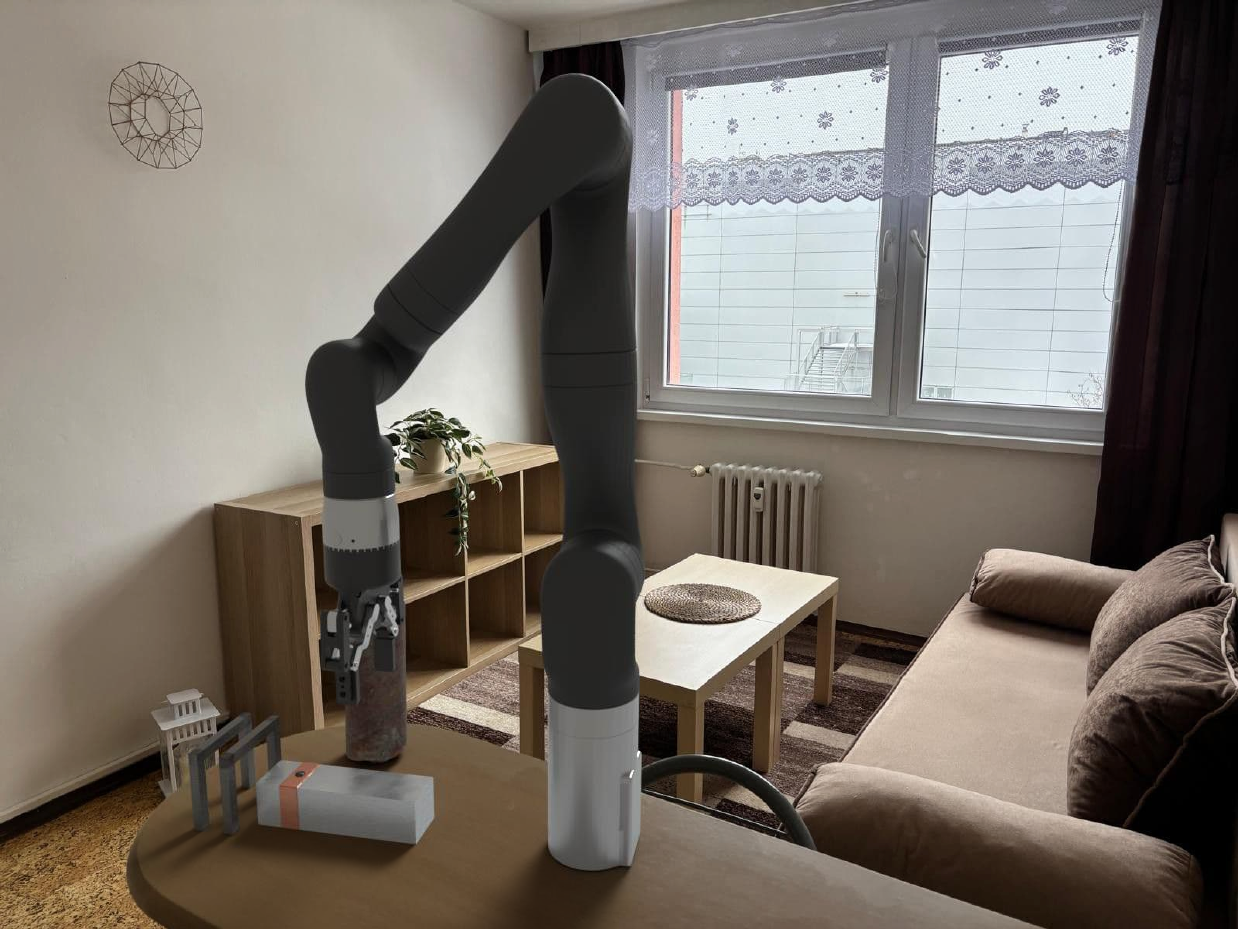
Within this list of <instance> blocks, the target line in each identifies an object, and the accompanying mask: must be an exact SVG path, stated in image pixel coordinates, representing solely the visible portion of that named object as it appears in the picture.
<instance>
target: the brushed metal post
mask: <svg viewBox="0 0 1238 929" xmlns="http://www.w3.org/2000/svg"><path fill="white" fill-rule="evenodd" d="M434 792H435V791H434V777H433V776H427V775H418V774H410V773H401V772H391V771H383V770H382V771H381V770H372V769H365V768H356V767H355V768H354V767H347V766H346V767H345V766H339V765H329V764H321V763H320V762H319V763H318V762H317V763H316V762H308V761H303V762H301V761H291V760H283V759H282V760H280V761H279V762H278V763H277V764H276V765H275V766H274V767H273V768H272V769H271V770H269V771H268V770H267V772H266V773H265V774H264V775H263V776H261V778H259V780H257V781H256V783H255V796H256V812H257V824H258V825H261V826H267V827H277V828H283V829H291V830H297V831H299V830H300V831H301V830H302V831H306V832H307V831H308V832H316V833H324V834H332V835H337V836H338V835H340V836H348V837H354V838H355V837H356V838H364V839H371V840H378V841H379V840H380V841H386V842H387V841H388V842H394V843H403V844H409V845H417V844H418V842H419V841H420V840H421V838H422V837H423V835H424V834H425V832H426V830H427V829H428V828H429V827H430V825H431V824H432V822H433V820H434V819H435V799H434V798H435V797H434V796H435V795H434Z"/></svg>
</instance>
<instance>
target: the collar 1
mask: <svg viewBox="0 0 1238 929" xmlns="http://www.w3.org/2000/svg"><path fill="white" fill-rule="evenodd" d="M252 730H253V722H252V713H251V712H241V714H239V715H237V717H235V718H234V719H233V720H231V721H230V722H229V723H227V724H226V725H225V726H223V727H222V728H221V729H219V730H218V731H217V732H216V733H214V734H213V735H212V736H210V737H209V738H207V739H206V740H205V741H203V742H202V743H201V744H200V745H198V746H197V747H196V748H195V749H193V750H192V751H190V752H189V753H188V754H187V756H188V757H187V758H188V768H189V783H190V794H191V795H190V796H191V804H192V806H191V807H192V820H193V830H195V831H202V832H203V831H205V830H206V829H207V828H208V827H210V812H209V800H208V785H207V774H206V763H205V762H206V760H207V759H208V758H209V757H211V756H212V755H213V754H215V753H216V752H217V751H218V750H220V749H221V748H222V747H223V746H224V745H226V744H227V743H228V742H230V741H231V740H233V738H235V737H236V736H237V735H238V742H239V741H240V740H241V739H242V738H243V737H245V736H246V735H247V734H248V733H250V732H251V731H252ZM239 763H240V764H239V765H240V779H241V788H244V789H250V788H252V787H253V786H254V785H256V782H257V781H256V767H255V752H254V748H253V749H252V750H250V751H249V752H248V753H247V754H246V755H244V756H243V757H242V758H241V759H240V760H239Z"/></svg>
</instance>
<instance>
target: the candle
mask: <svg viewBox="0 0 1238 929" xmlns="http://www.w3.org/2000/svg"><path fill="white" fill-rule="evenodd" d="M392 607H393V609H394V611H395V613H396V607H395V606H393V605H392ZM404 610H405V611H406V602H405V601H404ZM406 631H407V630H406V621H405V622H404V624H403V625H398V634H397V636H396V637H395V636H394V638H395V654H396V667H395V669H394V670H393V671H391V672H385V671H377V670H376V669H375V667H374V645H373V638H374V637H376V636H377V635H374V634H373V632H372V634H371V636H370V641H369V645H368V647H367V648H366V649H364V650H363V651H362V654H361V658H360V662H359V666H358V668H359V683H360V701H359V702H358V703H357V704H356V705H354V706H352V705H344V706H345V707H344V708H345V712H344V713H345V716H344V717H345V721H344V722H345V754H346V757H347V758H348V759H350V760H351V761H356V762H362V761H365V762H370V763H372V764H373V763H380V764H381V763H385V762H387V761H389V760H390V759H393V758H395V757H397V756H398V755H399V754H400V753H401V752H403V750H404V749H406V747H407V745H408V717H407V715H408V712H407V711H408V710H407V709H408V707H407V706H408V705H407V704H408V703H407V671H406V670H407V664H406V663H407V661H406V659H407V658H406V657H407V656H406V652H407V651H406V645H407V642H406V641H407V640H406V636H407V634H406ZM358 637H359V636H351V635H350V638H358ZM352 650H353V648H350V658H351V654H352Z"/></svg>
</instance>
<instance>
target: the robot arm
mask: <svg viewBox="0 0 1238 929" xmlns="http://www.w3.org/2000/svg"><path fill="white" fill-rule="evenodd" d="M633 150H634V134H633V126H632V123H631V121H630V118H629V115H628V113H627V112H626V109H625V108H624V106H623V105H622V104H621V102H620V100H619V99H618V97H617V96H615V94H614V92H613V91H611V89H610V88H609V87H608V86H607V85H605V84H604V83H603V82H602V81H601V80H598V79H597V78H595V77H594V76H591V75H588V74H584V73H573V72H572V73H565V74H561V75H558V76H556V77H554V78H551V79H549V80H548V81H547V82H544V84H543V85H541V86H540V87H539V88H538V90H536V91H535V93H534V95H532V97H531V99H530V100H529V102H528V103H527V104H526V106H525V107H524V109H523V110H522V111H521V113H520V115H519V116H518V117H517V119H516V121H515V122H514V124H513V126H512V127H511V129H510V131H509V132H508V134H507V135H506V137H505V138H504V139H503V141H502V143H501V145H500V146H499V148H498V149H497V151H496V152H495V154H494V155H493V156H492V158H491V159H490V160H489V163H488V164H487V165H486V167H485V168H484V169H483V171H482V172H481V174H480V175H479V177H478V178H477V179H476V180H475V182H474V183H473V184H472V186H471V187H470V188H469V190H468V191H467V192H466V194H465V195H464V196H463V198H462V199H461V200H460V201H459V202H458V204H457V205H456V206H455V207H454V209H453V210H452V211H451V212H450V213H449V215H448V216H447V217H446V219H445V220H443V222H442V223H441V224H440V225H439V226H438V227H437V229H436V230H435V231H434V232H433V233H432V234H431V235H430V236H429V238H427V240H426V241H425V242H424V243H423V244H422V245H421V247H420V248H419V249H418V250H417V251H415V253H414V254H413V255H411V257H410V258H409V259H408V260H407V261H406V262H405V263H404V264H403V266H402V267H401V268H400V269H399V270H398V271H397V272H396V273H395V274H394V275H393V277H392V278H391V279H390V280H389V281H388V282H387V283H386V284H385V285H384V287H383V288H382V289H381V291H380V292H379V293H378V294H377V296H376V297H375V299H374V302H373V312H374V314H372V316H371V317H370V318H369V319H368V321H367V322H366V324H365V325H364V326H363V327H362V329H360V330H359V332H357V334H356V335H354V336H353V337H352V338H342V339H341V338H340V339H335V340H334V339H333V340H330V341H327V342H324V343H323V344H321V345H319V347H317V348H316V350H315V351H314V352H313V353H312V354H311V356H310V358H309V360H308V363H307V366H306V369H305V370H306V371H305V379H304V387H305V388H304V389H305V390H304V391H305V397H306V404H307V407H308V411H309V416H310V419H311V422H312V425H313V429H314V433H315V437H316V440H317V443H318V445H319V448H320V451H321V474H322V493H323V501H322V511H321V512H322V513H321V525H322V527H321V528H322V530H321V531H322V547H323V569H324V580H325V583H326V584H327V585H328V586H329V587H331V588H333V589H334V590H335V591H336V592H337V594H338V598H337V605H336V609H334V610H329V609H328V610H327V609H323V610H322V611H321V612H320V615H319V623H320V624H319V629H320V667H321V670H322V671H329V672H334V675H335V676H334V677H335V693H336V694H335V696H336V702H337V703H338V705H343V706H345V705H352V706H354V705H356V704H357V703H358V702H359V701H360V683H359V668H358V666H359V662H360V658H361V654H362V651H363V650H364V649H366V648H367V647H368V645H369V641H370V636H371V634H372V632H373V634H374V635H377V636H376V637H374V638H373V645H374V667H375V669H376V670H377V671H385V672H391V671H393V670H394V669H395V667H396V654H395V638H394V636H395V637H396V636H397V634H398V625H403V624H404V622H405V623H406V609H405V610H404V602H405V597H404V596H405V595H404V594H405V593H404V580H403V578H404V576H403V574H402V569H401V568H402V566H401V563H402V562H401V540H400V538H401V535H400V514H399V506H398V501H397V494H396V493H397V492H396V489H397V488H396V469H395V468H396V467H395V466H396V465H395V463H396V462H395V461H396V460H395V452H394V447H393V444H392V442H391V440H390V439H389V438H388V437H387V436H385V435H383V434H381V430H380V426H379V419H378V413H377V406H380V405H381V404H383V403H385V402H387V401H388V400H390V399H391V398H392V397H393V396H395V394H396V393H397V392H398V391H399V390H400V389H401V388H402V387H403V386H404V385H405V384H406V383H407V381H408V380H409V379H410V377H411V376H412V375H413V373H414V372H415V371H416V369H417V367H418V366H419V365H420V364H421V362H422V360H423V359H424V358H425V356H426V354H427V353H428V351H429V350H430V348H431V347H432V345H434V344H435V343H436V342H437V341H438V340H439V339H440V338H441V337H442V336H443V335H444V334H445V333H447V331H448V330H449V329H450V328H451V327H452V326H453V325H454V324H455V322H457V321H458V320H459V319H460V318H461V316H463V314H464V313H465V312H466V311H467V310H468V309H469V308H470V307H471V306H472V305H473V304H474V302H475V301H476V300H477V299H478V297H480V295H481V294H482V292H484V290H485V288H486V287H487V285H488V284H489V283H490V282H491V280H492V279H493V277H494V276H495V275H496V273H497V272H498V269H499V267H500V266H501V265H502V263H503V261H504V260H505V258H506V257H507V256H508V254H509V252H510V251H511V250H512V248H513V246H514V245H515V244H516V243H517V242H518V240H519V239H520V238H521V237H522V236H523V234H524V233H525V232H526V231H527V229H528V228H529V227H531V225H532V224H533V223H534V222H536V220H537V219H539V217H540V216H541V215H542V214H543V213H544V212H545V211H547V210H548V208H549V212H550V221H551V222H550V223H551V234H552V235H551V236H552V238H551V240H552V241H551V244H552V246H551V247H552V248H551V249H552V250H551V258H550V266H549V272H548V276H547V283H546V287H545V293H544V300H543V306H542V314H541V323H540V331H539V332H540V333H539V334H540V335H539V336H540V337H539V340H540V341H539V352H540V371H541V374H540V375H541V391H542V392H541V393H542V399H543V400H542V401H543V407H544V413H545V419H546V422H547V426H548V429H549V433H550V436H551V440H552V443H553V446H554V449H555V453H556V456H557V459H558V463H559V466H560V470H561V471H560V472H561V476H562V486H563V526H562V540H561V546H560V550H559V551H558V552H557V553H556V554H555V555H554V556H553V557H552V559H551V560H550V561H549V563H548V565H547V566H546V567H545V570H544V573H543V577H542V581H541V586H540V587H541V589H540V625H541V626H540V629H541V632H540V633H541V655H542V656H541V657H542V665H543V670H544V672H545V674H546V677H547V846H548V850H549V853H550V855H551V856H552V857H553V858H554V859H555V860H556V861H558V862H559V863H560V864H562V865H564V866H567V867H568V868H571V869H576V870H581V871H602V870H609V869H611V868H615V867H618V866H619V867H620V866H623V867H630V866H632V864H633V859H634V857H635V856H634V855H635V853H636V849H637V845H638V842H639V838H640V834H641V812H642V811H641V809H642V808H641V807H642V805H641V803H642V799H641V798H642V756H643V755H642V752H641V751H640V750H639V711H640V710H639V709H640V708H639V707H640V706H639V705H640V666H639V663H638V662H637V659H636V612H637V611H636V610H637V609H636V608H637V602H638V600H639V597H640V595H641V593H642V590H643V588H644V583H645V576H646V575H645V574H646V567H645V566H646V565H645V557H644V552H643V544H642V539H641V538H642V536H641V531H640V530H641V529H640V524H639V515H638V507H637V500H636V499H637V497H636V488H635V486H636V485H635V467H636V466H635V465H636V464H635V463H636V453H637V452H636V451H637V432H638V427H637V426H638V394H639V393H638V392H639V391H638V390H639V388H638V383H639V382H638V351H637V347H638V345H637V336H636V335H637V334H636V333H637V332H636V319H635V318H636V317H635V308H634V295H633V284H632V277H631V268H630V261H629V252H628V250H629V248H628V220H629V219H628V218H629V217H628V216H629V201H630V200H629V198H630V186H631V185H630V183H631V175H632V173H631V172H632V163H633V162H632V161H633V153H634V152H633ZM392 605H393V606H395V607H396V613H395V611H394V609H393V607H392ZM350 635H351V636H359V637H358V638H350ZM350 648H353V650H352V654H351V658H350ZM332 649H333V651H332Z"/></svg>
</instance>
